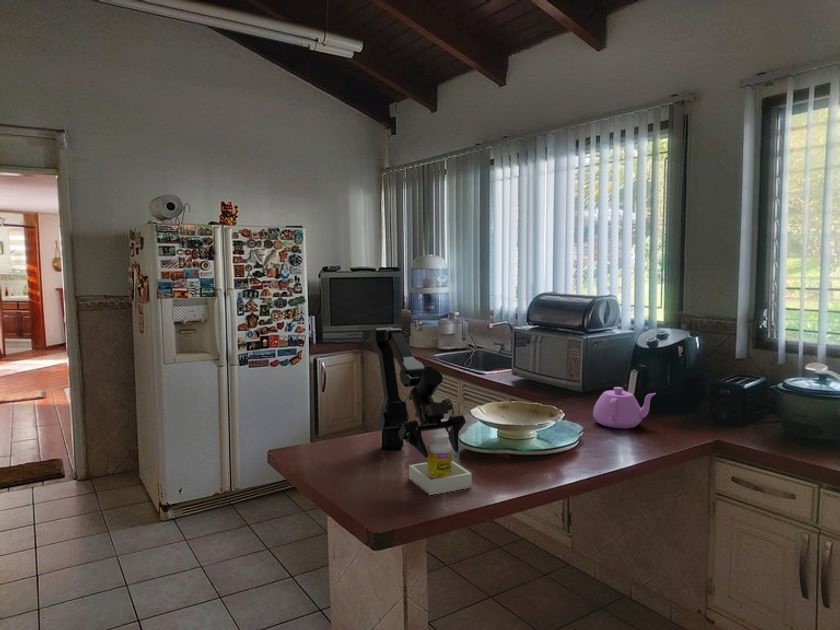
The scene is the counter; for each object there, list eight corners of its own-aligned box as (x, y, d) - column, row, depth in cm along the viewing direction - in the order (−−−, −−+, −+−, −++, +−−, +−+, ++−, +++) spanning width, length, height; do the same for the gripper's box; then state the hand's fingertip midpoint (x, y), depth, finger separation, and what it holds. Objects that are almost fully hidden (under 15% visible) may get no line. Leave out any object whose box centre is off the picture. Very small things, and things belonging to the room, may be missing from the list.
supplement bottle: (435, 487, 154) (435, 440, 153) (422, 478, 160) (423, 433, 159) (456, 482, 158) (456, 436, 156) (443, 474, 163) (443, 429, 162)
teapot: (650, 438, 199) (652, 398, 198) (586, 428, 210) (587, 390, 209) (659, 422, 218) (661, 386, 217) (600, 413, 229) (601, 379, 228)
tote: (409, 479, 162) (409, 465, 161) (448, 472, 167) (448, 458, 167) (429, 496, 150) (429, 481, 150) (471, 487, 156) (471, 473, 155)
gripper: (402, 392, 156) (420, 445, 147) (463, 386, 164) (483, 435, 155) (391, 414, 163) (407, 465, 155) (449, 406, 172) (468, 455, 163)
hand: (442, 454), depth 157 cm, fingers open, 9 cm apart
